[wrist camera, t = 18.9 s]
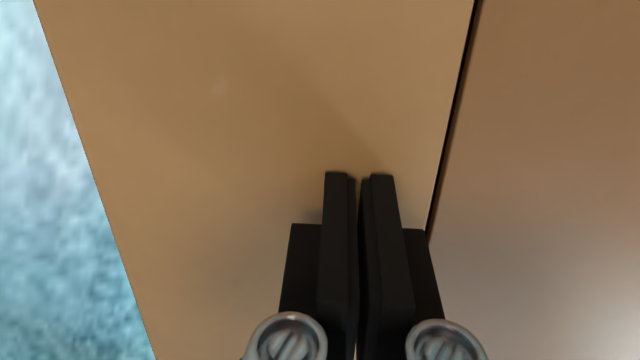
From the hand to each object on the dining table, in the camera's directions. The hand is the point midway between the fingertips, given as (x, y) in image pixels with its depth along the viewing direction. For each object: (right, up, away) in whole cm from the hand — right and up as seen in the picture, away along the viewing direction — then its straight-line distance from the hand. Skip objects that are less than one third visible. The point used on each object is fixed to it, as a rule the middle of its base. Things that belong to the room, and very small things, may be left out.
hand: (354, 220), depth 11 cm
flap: (-2, 0, 0) cm, 2 cm away
